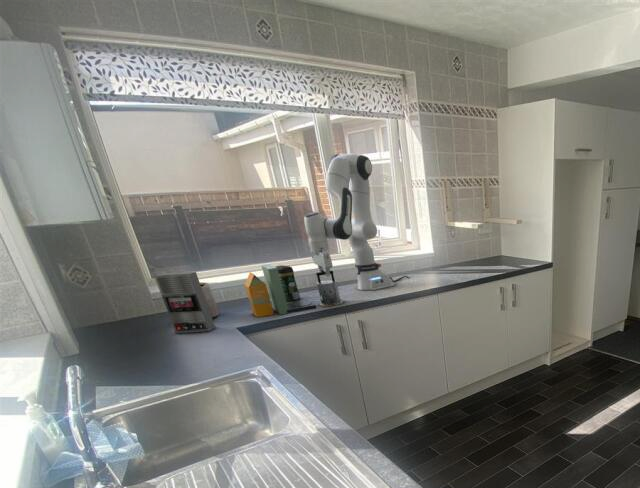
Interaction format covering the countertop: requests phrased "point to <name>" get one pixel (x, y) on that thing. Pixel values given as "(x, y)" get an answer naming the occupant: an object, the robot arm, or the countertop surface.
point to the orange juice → (258, 296)
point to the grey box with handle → (328, 290)
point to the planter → (210, 300)
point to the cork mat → (331, 305)
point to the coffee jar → (288, 283)
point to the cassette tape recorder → (185, 302)
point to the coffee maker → (281, 293)
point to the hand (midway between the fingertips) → (325, 275)
